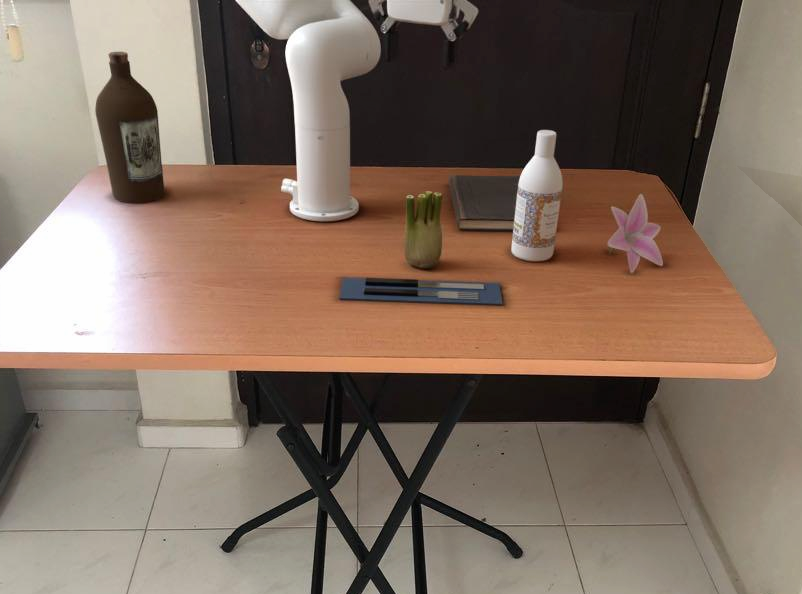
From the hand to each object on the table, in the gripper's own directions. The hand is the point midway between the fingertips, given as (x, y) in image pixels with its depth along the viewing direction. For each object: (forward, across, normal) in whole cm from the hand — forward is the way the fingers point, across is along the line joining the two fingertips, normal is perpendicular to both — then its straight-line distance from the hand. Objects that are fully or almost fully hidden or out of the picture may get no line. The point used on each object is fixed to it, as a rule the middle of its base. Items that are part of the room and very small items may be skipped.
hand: (419, 63), depth 126 cm
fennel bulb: (+28, -6, +9) cm, 30 cm away
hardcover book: (+28, -7, -21) cm, 36 cm away
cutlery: (+28, -10, +18) cm, 35 cm away
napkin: (+28, -10, +18) cm, 35 cm away
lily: (+28, -35, -9) cm, 46 cm away
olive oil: (+28, +54, +7) cm, 61 cm away
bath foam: (+28, -20, -4) cm, 35 cm away
